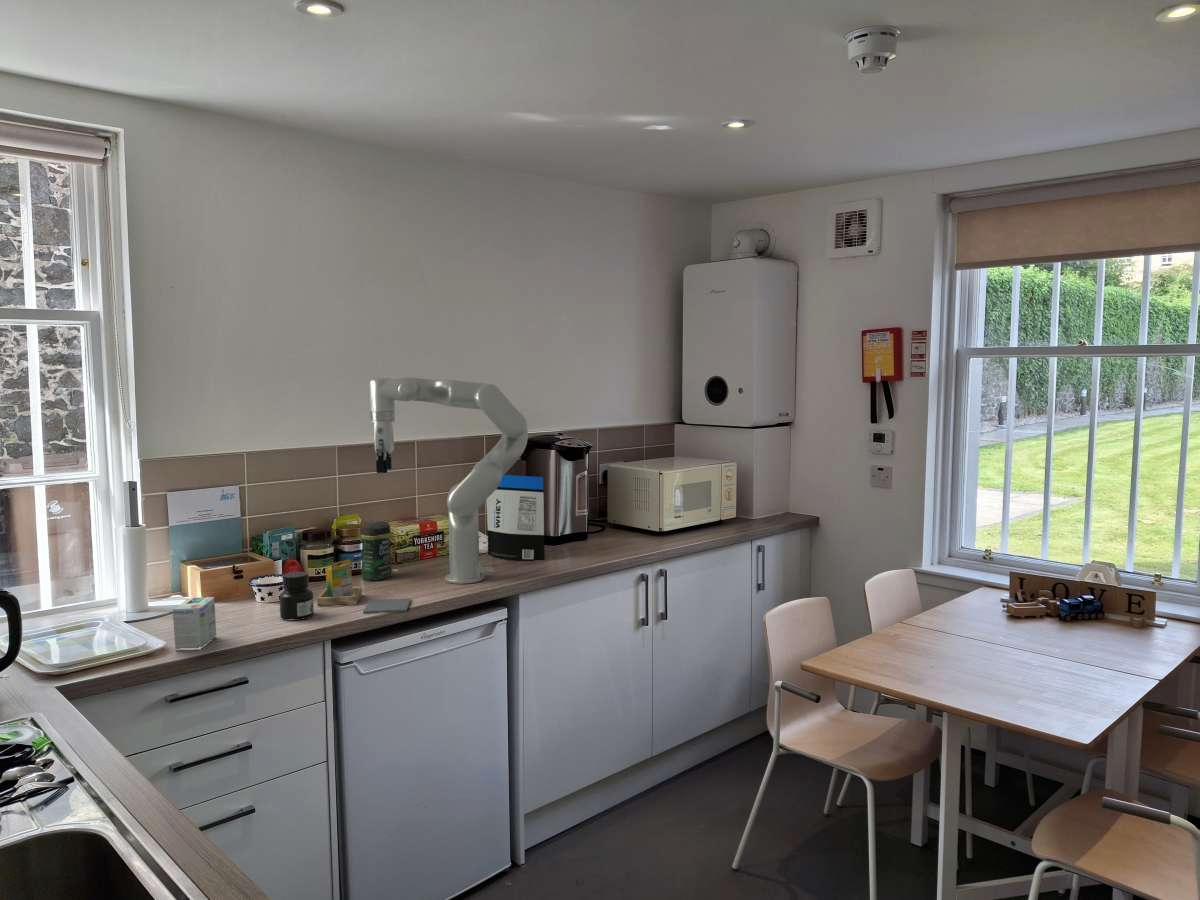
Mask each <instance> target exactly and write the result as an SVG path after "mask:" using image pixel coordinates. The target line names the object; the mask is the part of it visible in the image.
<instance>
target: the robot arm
mask: <svg viewBox="0 0 1200 900" xmlns="http://www.w3.org/2000/svg"><path fill="white" fill-rule="evenodd" d="M368 384H369V417H370V423H373V433H374V434H373V439H374V440H373V441H374V452H375V453H376V460H375V463H376V464H375V466H376V470H375V471H376V473H377V474H387V473H388V470H391V469H392V456H391V455H392V452H393V453H394V451H395V439H394V428H393V427H394V426H393V423H394V422H395V423H396V413H395V412H396V409H395V408H396V407H395V401H399V402H410V401H411V402H412V401H414V402H425V403H433V404H438V405H443V406H445V407H450V408H462V409H472V410H481V411H482V412H483V413H484V415H485V416H486V417H487V418H488V419H489V420H490V422H492V424H493V425H495V426H496V428H497V429H498V430H499V431H500V432H501V436H500V439H499V441H498V442H497V443H496V444H495V445H494V446H493V447H492V448H491V450H490V451H489V452H488V453H487V454H485V455H484V457H482V458H481V459H480V460H479V461H478V462H476V463H475V464H474V466H473V467H472V470H471V471H470V472H469V473H468V474H467V475H466V476H465V477H464V478H463V479H462V480H461V481H460V483H456V484H454V485H453V486H452V487H451V488H450V489H449V491H448V493H447V498H446V506H447V509H448V510H447V511H448V514H447V515H448V541H449V542H448V545H449V547H448V548H449V549H448V551H449V553H448V554H449V574H447V575H445V579H444V580H445V582H447V583H450V584H459V585H463V584H464V585H467V584H473V583H474V584H475V583H479V582H482V581H483V580H484V579H485V575H486V574H488V575H489V574H492V575H493V574H494V567H490V566H486V567H485V566H481V563H482V562H481V563H480V540H479V539H480V538H479V529H480V528H479V508H480V507H481V506H482V504H483V503H485V501H487V500H486V499H487V498H488V497H489V496H490V495H491V494H492V493H493V492H494V491H495V490H496V489H497V487H498V486H499V484H500V482H501V478H502V476H503V475H506V473H507V472H508V471H509V470H510V469H511V468H512V466H514V465H515V463H517V461H518V460H519V459H520V458H521V456H522V454H523V453H524V451H525V449H526V447H527V444H528V437H529V432H528V426H527V424H528V423H527V419H526V418H525V415H523V414H522V413H521V411H519V410H518V408H516V407H515V405H513V403H512V402H511V401H510V399H508V398H507V397H506V396H505V394H504V393H503V392H502V391H501V389H500V388H499V387H498V386H497V385H496V384H492V383H485V382H484V383H483V382H476V381H475V382H474V381H463V380H452V379H431V378H429V379H428V378H420V377H411V376H410V377H409V376H405V377H400V378H399V377H398V378H387V377H378V378H377V377H376V378H375V377H374V378H372V379H370V381H369V383H368Z"/></svg>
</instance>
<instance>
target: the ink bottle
mask: <svg viewBox="0 0 1200 900" xmlns="http://www.w3.org/2000/svg"><path fill="white" fill-rule="evenodd" d="M281 577H282V589H283V591H282V592H281V593H280V594H279V613H280V619H282V618H283V619H282V620H284V619H302V620H304V619H303V618H306V619H309V618H312V616H314V614H315V607H314V606H315V605H314V604H315V603H314V592H313V590H312V589H310V588H309V587H310V586H309V582H310V581H309V580H310V579H309V573H308V572H306V571H292V572H288V573H284V574H282V576H281ZM308 617H309V618H308Z"/></svg>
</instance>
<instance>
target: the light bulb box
mask: <svg viewBox="0 0 1200 900" xmlns="http://www.w3.org/2000/svg"><path fill="white" fill-rule="evenodd" d="M172 620H173V635H174V650H175V649H180V648H199V647H203V646H204V645H205V644H207V643H208V642H209V641H210V640H212V639H213V638H214V637H215V636H216V637H217V623H216V622H217V621H216V607H215V597H214V596H207V597H189V598H187V599H186V600H184V601H183V602H182V603H180V604H179V605H178V606H176V607H174V608H173V609H172ZM214 639H215V638H214ZM214 639H213V640H214ZM213 640H212V641H213ZM207 645H208V644H207Z"/></svg>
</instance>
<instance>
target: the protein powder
mask: <svg viewBox="0 0 1200 900" xmlns="http://www.w3.org/2000/svg"><path fill="white" fill-rule="evenodd" d="M544 500H545V499H544V477H543V476H531V475H530V476H528V475H510V474H509V475H508V474H507V475H506V474H504V475H503V476H502V478H501V482H500V484H499V486H498V487H497V489H496V490H495V491H494V492H493V493H492V494H491V495H490V496H489V497H488V498H487V499H486V500H485V501H486V519H487V555H488V556H491V557H492V556H493V558H495V559H498V558H499V559H500V560H503V559H504V560H505V561H511V560H513V561H514V562H535V561H534V560H542V561H543V560H545V561H546V558H545V557H546V556H545V509H544V507H545V505H544V504H545V501H544ZM499 559H498V560H499Z"/></svg>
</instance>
